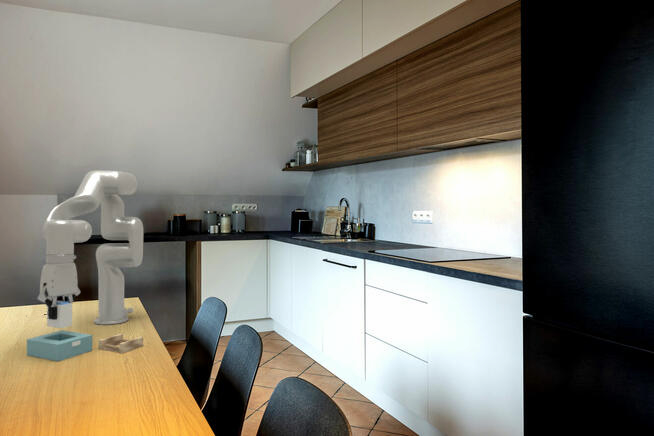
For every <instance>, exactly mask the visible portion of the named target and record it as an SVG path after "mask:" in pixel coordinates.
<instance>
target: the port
mask: <svg viewBox="0 0 654 436" xmlns="http://www.w3.org/2000/svg"><path fill="white" fill-rule="evenodd" d="M91 351H93V334H88V333H83V332H77V331H69V330H62V329H61V330H58V331H54V332H50V333H45V334H41V335H39V336H34V337H31V338H26V356H29V357H32V358H33V357H35V358H40V359H44V360H49V361H54V362H61V361H64V360H66V359H70V358H73V357H75V356H79V355H83V354H85V353H86V354H87V353H89V352H91Z"/></svg>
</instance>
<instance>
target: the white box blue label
mask: <svg viewBox="0 0 654 436" xmlns="http://www.w3.org/2000/svg"><path fill="white" fill-rule="evenodd" d="M55 307H57V319H56V320H52V319H49V318H48V306H46V312H47V316H46V326H47V327H51V328H57V329H63V328H67V327H70V326H72V325H73V303H69V302H66V301H64V300H56V306H55Z"/></svg>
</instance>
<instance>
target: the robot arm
mask: <svg viewBox="0 0 654 436" xmlns="http://www.w3.org/2000/svg"><path fill="white" fill-rule="evenodd" d="M137 189H138V181H137V177H136V176H135V175H134V174H133V173H132V172H131V173H130V172H124V171H120V170H98V169H97V170H90V171H89V172H88V171H87V173H86V174H85V175H84V177H83V179H82V180H81V183H80V185H79V187H78V189H77V191H76V192H75V195H74V196H71V197H69V198H68V199H66V200H64V201H63V202H62V203H60V204H57V205H56V206H55V207H54V208H53V209H52V210H51V211H50V212H49V214H48V216H47V218H46V219H45V221H44V224H43V227H42V236H43V238H44V239H45V240H46V253H45V254H46V256H45V258H46V262H45V263H46V264H43V266H42V269H41V275H40V280H39V281H40V284H39V295H38V296H37V300H39V301H40V302H42V303H44V305H45V306H46V307H47V306H48V318H49V319H52V320H56V319H57V307H55V306H56V301H58V300H57V299H58V297H62V299H63V300H62V301H66V302H69V303H72V304H74V300H75V299H76V298H77V296H79V295H80V294H81V290H80V288H79V286H78V272H77V271H78V270H77V266H76V263H75V261H74V260H76V259H77V255H76V254H75V253H74V252H75V244H76V243H84V242H87V241H88V240H89V239H90V238H91V236H92V234H93V228H92V225H91V224H90V223H89V222H88V221H86V220H83V219H73V218H77V217H79V216H83V215H87V214H90V213H92V212H95V211H96V210H97V209H98V208H99V207H100V208H101V209H100V211H101V212H100V215H101V216H100V235H101V236H102V238H103V239H105V240H109V241H128V242H129V243H121V242H120V243H112V242H111V243H103V244H101V245H99V246H98V247H97V248H96V250H95V260H96V266H97V270H98V272H97V273H98V274H97V275H98V276H97V277H98V311H97V312H98V317H96V318H94V320H93V322H94V324H95V325H104V326H105V325H109V326H110V325H117V324H123V323H126V322H128V321H129V316H128V314H130V313H133V312H134V308H133V307H129V308H126V307H125V276H124V274H123V271H121V269H120V268H135V267H139V266H141V265H142V263H143V256H144V224H143V221H142V220H141V219H140V218H138V217H136V216H125V202H123V200H122V198H121V197H120V196H119V195H125V196H127V195H129V196H130V195H133V194H134V193H135V192H136V191H137ZM127 320H128V321H127Z"/></svg>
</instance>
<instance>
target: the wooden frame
mask: <svg viewBox="0 0 654 436" xmlns="http://www.w3.org/2000/svg"><path fill="white" fill-rule="evenodd" d="M143 346H144V337H143V336H139V337H136V338H132V339H125V338H124V334H123V333H119V334H115V335H112V336H109V337H105V338H102V339H98V350H99V351H102V350H103V351H109V352H115V353H119V354H124V353H127V352H130V351H134V350H136V349H138V348H141V347H143Z"/></svg>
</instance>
